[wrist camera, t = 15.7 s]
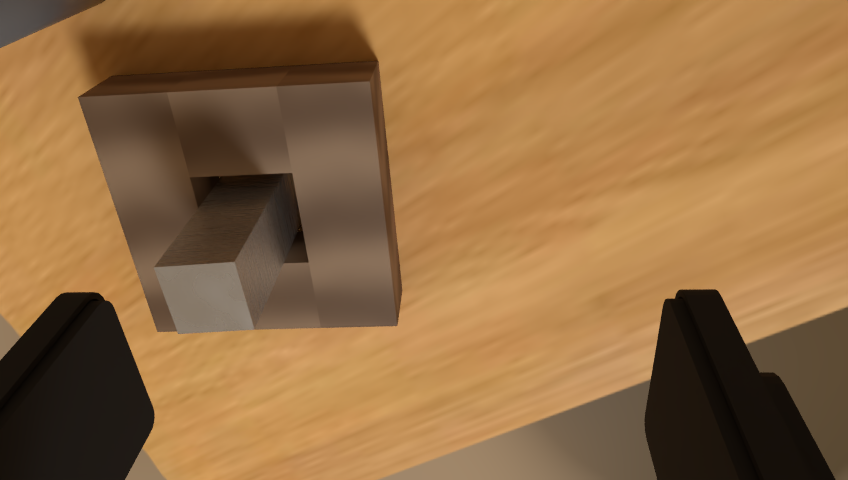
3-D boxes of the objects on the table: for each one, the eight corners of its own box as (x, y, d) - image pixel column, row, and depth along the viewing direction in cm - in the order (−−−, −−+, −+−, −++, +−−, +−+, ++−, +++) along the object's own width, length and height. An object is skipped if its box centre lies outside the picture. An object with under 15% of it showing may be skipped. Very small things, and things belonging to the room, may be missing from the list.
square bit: (230, 165, 42) (153, 267, 32) (291, 160, 42) (234, 261, 31) (245, 221, 44) (178, 333, 34) (304, 216, 44) (254, 329, 33)
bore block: (111, 76, 39) (77, 97, 36) (378, 60, 38) (369, 81, 35) (179, 297, 47) (157, 331, 44) (402, 290, 46) (397, 325, 43)
